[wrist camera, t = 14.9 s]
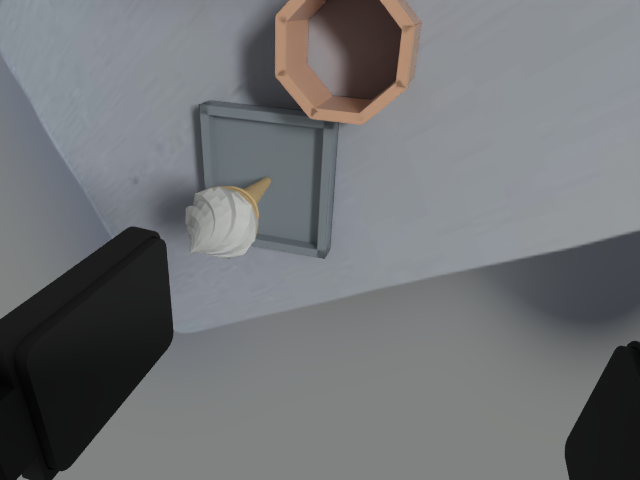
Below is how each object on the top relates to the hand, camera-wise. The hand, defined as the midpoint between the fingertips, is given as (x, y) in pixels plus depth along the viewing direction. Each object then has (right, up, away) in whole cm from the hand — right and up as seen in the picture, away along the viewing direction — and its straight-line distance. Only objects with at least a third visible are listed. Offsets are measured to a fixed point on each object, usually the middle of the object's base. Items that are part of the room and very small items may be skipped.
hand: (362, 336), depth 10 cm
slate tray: (-5, +8, +34) cm, 36 cm away
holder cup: (+2, +17, +27) cm, 32 cm away
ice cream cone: (-6, +8, +34) cm, 35 cm away
